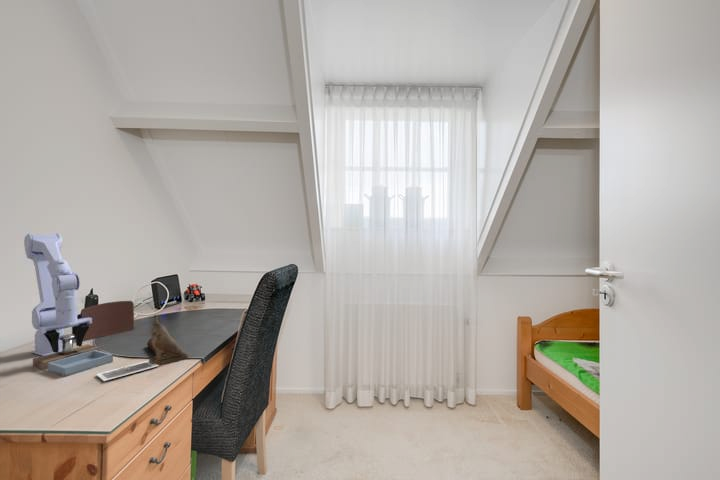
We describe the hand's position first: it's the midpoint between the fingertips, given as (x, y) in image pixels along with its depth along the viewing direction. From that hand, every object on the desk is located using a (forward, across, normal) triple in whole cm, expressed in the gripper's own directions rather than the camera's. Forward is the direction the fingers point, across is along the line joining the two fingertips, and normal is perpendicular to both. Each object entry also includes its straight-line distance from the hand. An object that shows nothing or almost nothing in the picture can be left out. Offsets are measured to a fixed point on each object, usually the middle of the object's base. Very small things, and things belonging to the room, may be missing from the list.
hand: (67, 348), depth 122 cm
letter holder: (+4, +24, +23) cm, 33 cm away
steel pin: (+4, 0, 0) cm, 4 cm away
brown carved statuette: (+4, +15, -32) cm, 36 cm away
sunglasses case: (+5, +21, -22) cm, 30 cm away
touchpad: (+5, +3, -30) cm, 30 cm away
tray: (+4, -1, -10) cm, 11 cm away
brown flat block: (+4, 0, 0) cm, 4 cm away
